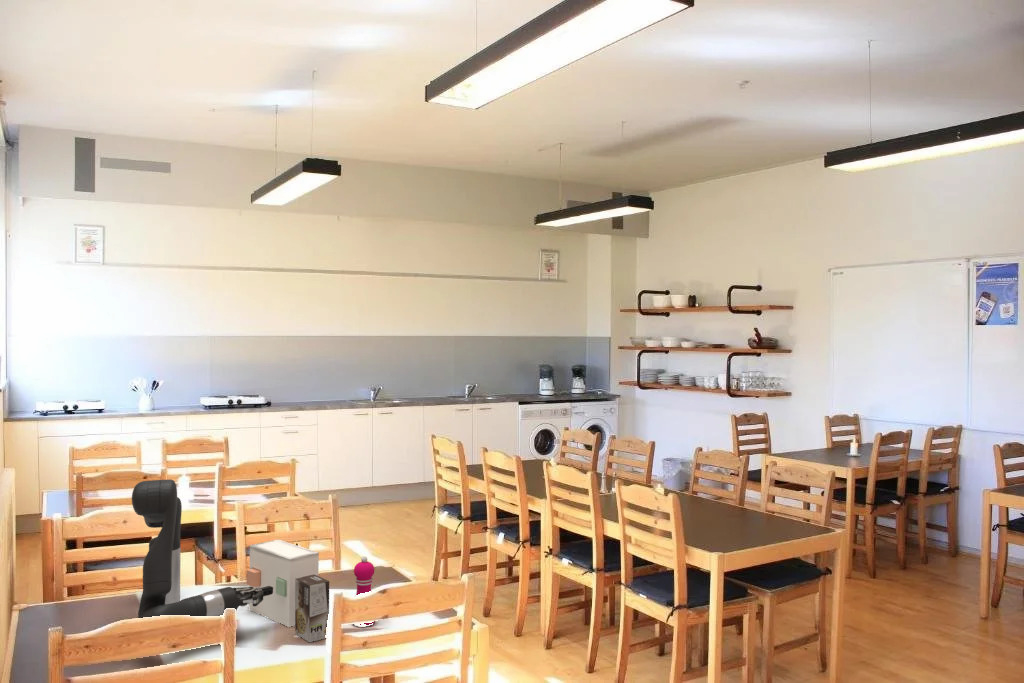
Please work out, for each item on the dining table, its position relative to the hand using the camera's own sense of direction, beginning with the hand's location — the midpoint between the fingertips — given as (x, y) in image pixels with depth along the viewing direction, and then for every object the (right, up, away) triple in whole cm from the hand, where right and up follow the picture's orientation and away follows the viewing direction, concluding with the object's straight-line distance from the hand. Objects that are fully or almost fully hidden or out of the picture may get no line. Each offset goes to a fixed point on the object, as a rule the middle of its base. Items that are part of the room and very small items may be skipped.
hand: (271, 589), depth 238 cm
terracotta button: (-8, -2, +12) cm, 15 cm away
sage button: (+3, -2, +4) cm, 5 cm away
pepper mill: (+26, -12, +4) cm, 29 cm away
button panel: (0, -11, +11) cm, 15 cm away
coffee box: (+13, -12, -6) cm, 18 cm away
